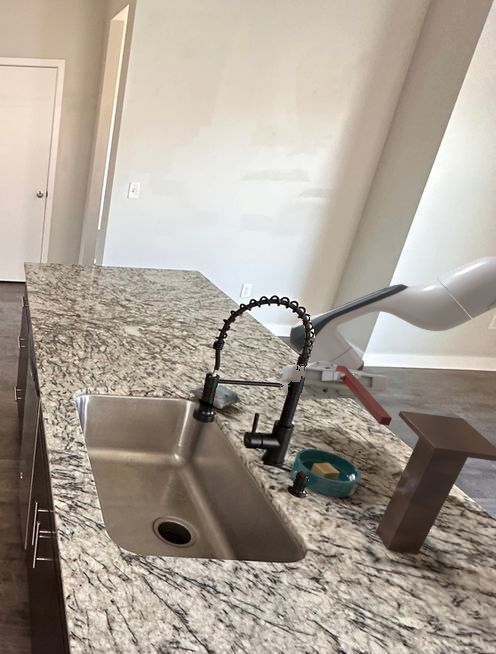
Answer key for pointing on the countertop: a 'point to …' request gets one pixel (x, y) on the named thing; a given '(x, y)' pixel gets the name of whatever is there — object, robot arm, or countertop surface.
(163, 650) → the countertop surface
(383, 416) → the red square bar
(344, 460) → the bowl
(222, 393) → the packaged food
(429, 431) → the brown pedestal stand
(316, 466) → the block
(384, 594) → the countertop surface
